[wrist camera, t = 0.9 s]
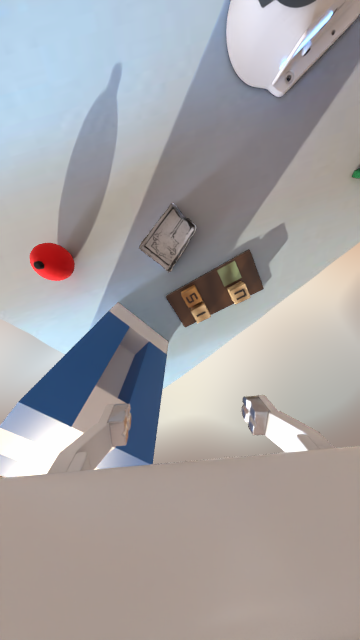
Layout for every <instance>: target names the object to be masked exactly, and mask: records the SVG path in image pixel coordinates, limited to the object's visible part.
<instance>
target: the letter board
mask: <svg viewBox="0 0 360 640" xmlns="http://www.w3.org/2000/svg"><path fill="white" fill-rule="evenodd" d="M193 285H195V286H196V288H197V290H198V292H199V294H200V296H201V298H202V301H201V302H199V303H197V304H195V305H194V306H192V307H190V308H188V306H187V304H186V303H185V301H184V299H183V297H182V296H181V292H182V291H184V290H186V289H187V288H189V287H191V286H193ZM262 289H264V288H263V286H262V283H261V280H260V277H259V274H258V272H257V269H256V266H255V263H254V260H253V258H252V255H251V252H250V250H247V251H245V252H243V253H242V254H240V255H238V256H236V257H234V258H233V259H231V260H229V261H227V262H225V263H224V264H222V265H220V266H218V267H216V268H215V269H213V270H211V271H209V272H207V273H206V274H204V275H202V276H200V277H198V278H197V279H195V280H193V281H191V282H190V283H188V284H186V285H184V286H182V287H181V288H179V289H177V290H175V291H173V292H172V293H170V294H168V295H166V298H167V300H168V301H169V303H170V305H171V306H172V308H173V309H174V311H175V312H176V314H177V316H178V317H179V319H180V320H181V322H182V324H183V325H184V327H187V326H189V325H191V324H193V323H195V322H197V323H199V322H201V321H203V320H205V319H207V318H209V317H211V314H213V313H216V312H218V311H220V310H222V309H224V308H226V307H228V306H230V305H232V304H234V303H235V304H238V303H240V302H242V301H244V300H246V299H248V298H250V295H252V294H254V293H256V292H258V291H260V290H262Z"/></svg>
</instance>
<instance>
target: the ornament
mask: <svg viewBox="0 0 360 640" xmlns="http://www.w3.org/2000/svg"><path fill="white" fill-rule="evenodd" d="M30 263H31V266H32V267H33V269H34V270H35V271H36V272H37V273H38V274H39V275H40V276H42V277H44V278H46V279H49V280H54V281H59V280H64V279H66V278H68V277H69V276H70V275H71V274H72V273H73V271H74V260H73V258H72V256H71V254H70V253H69V252H68V251H67V250H66V249H65V248H63V247H61V246H59V245H57V244H53V243H43V244H39V245H37V246H36V247H34V248H33V250H32V251H31V253H30Z"/></svg>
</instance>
